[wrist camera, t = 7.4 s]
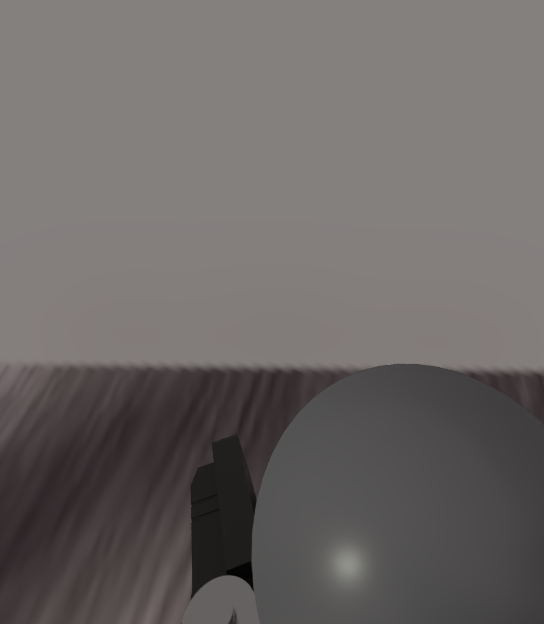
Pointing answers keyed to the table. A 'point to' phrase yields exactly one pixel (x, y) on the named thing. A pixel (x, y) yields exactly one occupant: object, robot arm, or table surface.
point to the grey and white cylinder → (403, 505)
